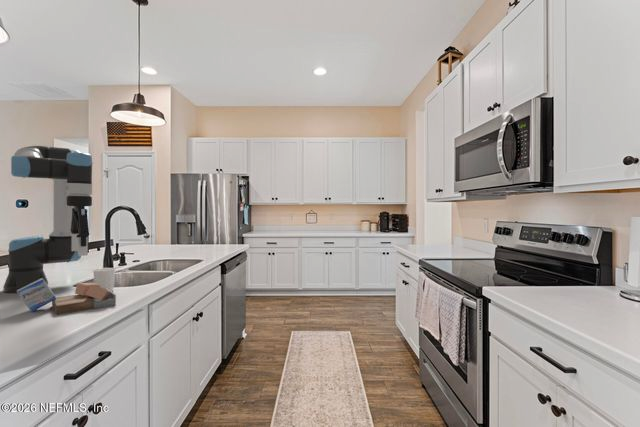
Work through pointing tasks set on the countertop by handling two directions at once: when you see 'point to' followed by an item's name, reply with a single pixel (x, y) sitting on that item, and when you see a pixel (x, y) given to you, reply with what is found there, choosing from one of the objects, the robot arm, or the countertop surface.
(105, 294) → the tile
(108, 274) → the white cup
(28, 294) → the medicine box
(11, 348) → the countertop surface
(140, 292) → the countertop surface
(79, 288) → the tile
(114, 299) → the tray
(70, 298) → the walnut plate
